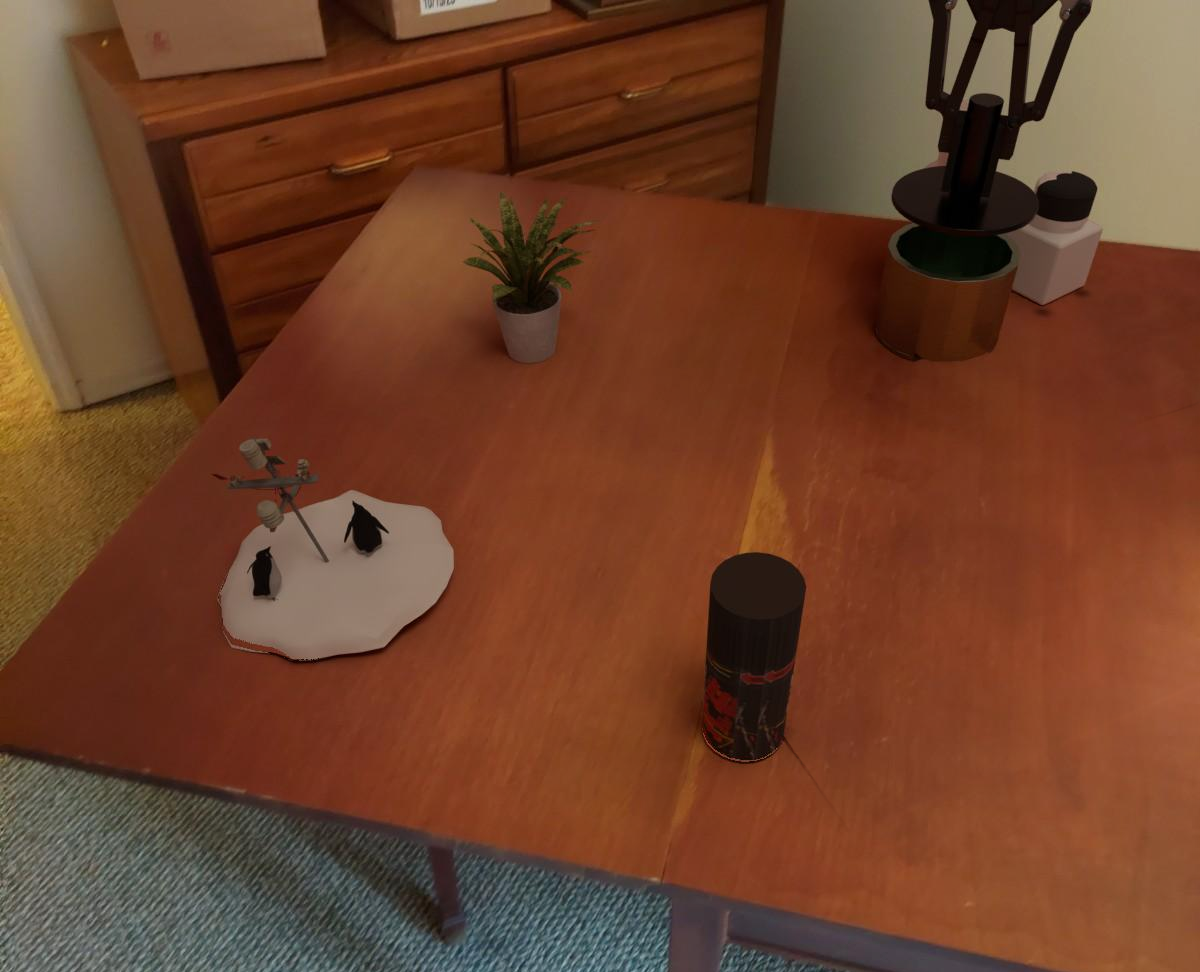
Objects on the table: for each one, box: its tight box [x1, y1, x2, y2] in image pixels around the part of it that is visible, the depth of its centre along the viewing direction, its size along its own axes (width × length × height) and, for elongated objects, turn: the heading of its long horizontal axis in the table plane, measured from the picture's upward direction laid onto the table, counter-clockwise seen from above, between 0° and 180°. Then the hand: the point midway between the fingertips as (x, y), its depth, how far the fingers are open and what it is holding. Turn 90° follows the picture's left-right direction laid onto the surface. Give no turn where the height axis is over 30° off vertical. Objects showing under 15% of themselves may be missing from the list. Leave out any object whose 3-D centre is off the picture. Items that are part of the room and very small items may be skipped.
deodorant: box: [701, 551, 807, 765], centre depth 72 cm, size 6×6×15 cm
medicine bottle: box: [1005, 169, 1104, 306], centre depth 114 cm, size 7×7×12 cm
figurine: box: [210, 437, 455, 661], centre depth 83 cm, size 20×18×16 cm
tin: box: [873, 222, 1021, 363], centre depth 109 cm, size 13×13×10 cm
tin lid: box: [890, 92, 1039, 236], centre depth 99 cm, size 14×14×10 cm
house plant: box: [461, 190, 598, 364], centre depth 106 cm, size 14×14×16 cm
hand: (966, 187), depth 101 cm, fingers closed on tin lid, 3 cm apart
